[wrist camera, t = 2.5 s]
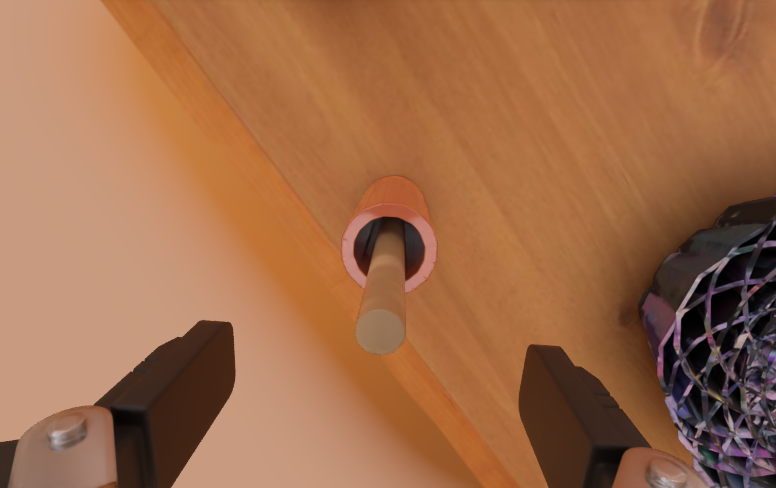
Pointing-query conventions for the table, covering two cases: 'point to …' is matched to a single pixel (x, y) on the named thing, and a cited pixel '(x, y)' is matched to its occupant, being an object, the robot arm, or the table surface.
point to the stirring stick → (384, 292)
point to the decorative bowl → (721, 345)
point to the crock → (361, 232)
